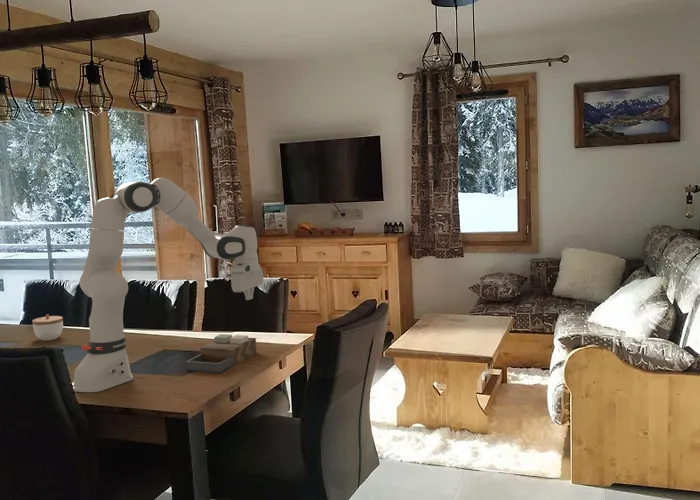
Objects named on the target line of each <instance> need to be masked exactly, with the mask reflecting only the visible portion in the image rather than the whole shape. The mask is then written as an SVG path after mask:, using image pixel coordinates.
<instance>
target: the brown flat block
mask: <svg viewBox="0 0 700 500" xmlns="http://www.w3.org/2000/svg"><path fill="white" fill-rule="evenodd" d="M199 350H200V354H203V362H214V363H220V362H222V361H224V360H225V359H227V358H229V357H231V356H233V358H234V366H236V365H237V364H239V363H241V362H242V361H244V360H246V359H248V358H251V356H254V355H255V354H257V353H258V352H257V338H256V337H248V341H246V342H244V343H243V344H236V343H230V341H229V342H227V343H220V342H215V341H214V340H213V341H211V342H210V343H207V344H205V345H203V346H201V347H200V349H199Z"/></svg>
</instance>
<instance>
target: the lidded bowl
mask: <svg viewBox="0 0 700 500" xmlns="http://www.w3.org/2000/svg"><path fill="white" fill-rule="evenodd" d="M31 323H32V328H33V333H34V335H35V336H36V337H37V338H38V339H39V340H40V341H53V340H56V339H58V338H59V337H60V336H61V334H62V332H63V327H64V318H63V316H62V315H61V316H60V315H51V316H50V315H49V314H46V315H45V316H41V317H37V318H34V319H32V321H31Z"/></svg>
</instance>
